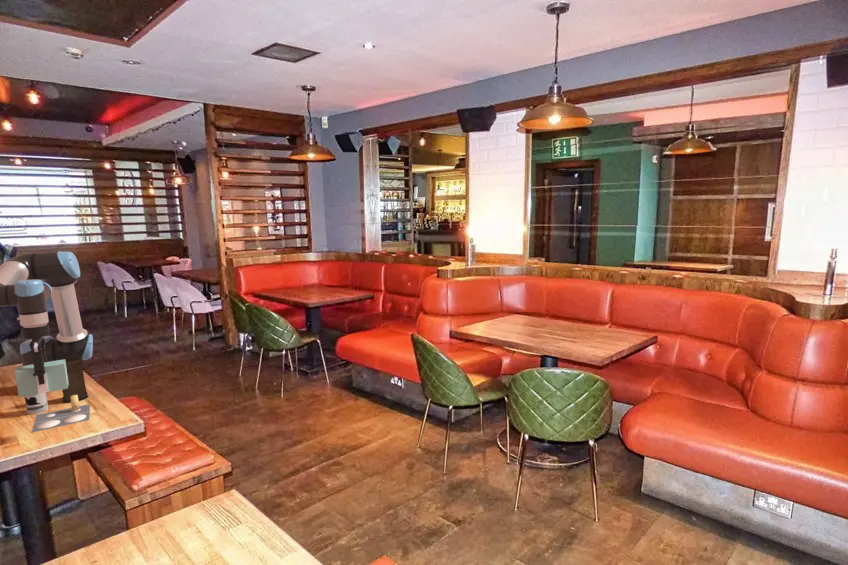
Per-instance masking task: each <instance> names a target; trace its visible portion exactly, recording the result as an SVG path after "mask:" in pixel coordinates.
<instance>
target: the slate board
mask: <svg viewBox="0 0 848 565" xmlns="http://www.w3.org/2000/svg"><path fill="white" fill-rule="evenodd" d="M70 399H71V403H70V404H71V405H70V406H71V407H70V408H69V407H68V408H64V409H59V410H54V411H49V412H43V413H39V414H36V415H35V420H34V422H33V426H32V429H31V433H36V432H40V431H46V430H50V429H53V428H55V429H56V428H59V427H63V426H68V425H72V424H77V423H81V422H86V421H90V416H91V415H90V413H91V412H90V410H91V409H90V408H91V407H90V406H91V404H90V403H89V404H88V403H87V404H85V405H80V401H78V395H72V396H70Z"/></svg>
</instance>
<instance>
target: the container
mask: <svg viewBox="0 0 848 565" xmlns="http://www.w3.org/2000/svg"><path fill="white" fill-rule="evenodd" d="M83 361H84V360H83V359H82V358H81V357H73V358H67V359H65V362H66V369H67V376H68V383H69V384H68V389H62V390H61V391H62V395H63V396H62V403H64V404H71V399H70V396H72V395H78V401H79V402H82V401H84V400H86V399H88V398H89V395H88V394H89V392H88V391H87V386H86V382H85V381H86V380H85V375H84V367H83Z"/></svg>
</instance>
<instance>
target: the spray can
mask: <svg viewBox="0 0 848 565" xmlns="http://www.w3.org/2000/svg"><path fill="white" fill-rule="evenodd" d="M31 364H33V363H31ZM31 364H26V365H31ZM23 366H25V365H23ZM24 401H25V402H24V403H25V407H26V408H25V409H26V414H27V415H28V416H29V415H30V416H31V415H32V416H33V415H38V414H43V413H46V411H48V410H49V402H48V396H47V392H46V393H41V394H35V395H30V396H24Z"/></svg>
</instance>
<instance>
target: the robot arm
mask: <svg viewBox="0 0 848 565" xmlns="http://www.w3.org/2000/svg"><path fill="white" fill-rule="evenodd" d="M80 277H81V269H80V265H79V261H78V259H77V257H76V255H75V254H74V253H73V252H71V251H60V250H59V251H49V252H47V251H46V252H29V253H28V252H27V253H23V254H19V255H17V256H13V257H11V258H9V259H7V260H5V261H4V262H3V263H1V264H0V308H4V307H16V306H17V311H18V312H17V313H18V316H17V318H16V320H17V321H19V324H20V326H21V328H20V331H21V332H20V334H21V337H22V339H25V340H26V341H23V342H22V343H20V346H19V351H20V353H19V355H20V358H21V364H22V365H21V366H23V365H26V364H31V363H33V365H34V372H35V373H34V374H33V376H36V381H37V388H38V394H41V393H46V394H47V393H50V392H49V390H48V384H47V377H46V373H45V367H44V362H51V361H57V360H63V359H67V358H73V357H81V358H82V359H83V361H86V360H90V359H91V358H92V357H93V352H94V351H93V350H94V349H93V348H94V338H93V337H94V336H93V334H90V333H88V330H87V329H85V328H83V324H82V323H83V322H82V318H81V314H80V309H79V303H78V299H77V294H76V288H75V285H74V284H75V283H77V282H78V278H80ZM50 298H51V301H52V305H53V309H54V314H55V318H56V323H57V326H58V330H59V331H58V332H59V333H57V335H56V338H53V337H52V335H50V334H51V330H50V324H49V322H50V321H49V314H48V310H47V309H48V308H47V301H49V300H50Z"/></svg>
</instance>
